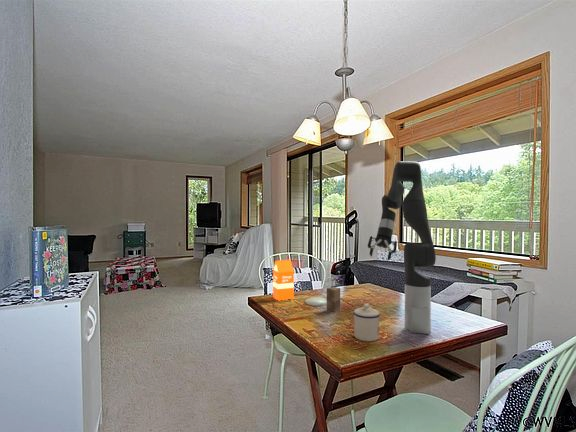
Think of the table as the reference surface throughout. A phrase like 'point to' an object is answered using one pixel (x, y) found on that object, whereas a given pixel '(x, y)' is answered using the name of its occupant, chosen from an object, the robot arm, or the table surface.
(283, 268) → the orange juice
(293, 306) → the table surface
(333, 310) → the walnut block
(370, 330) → the teacup with lid
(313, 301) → the white plate
